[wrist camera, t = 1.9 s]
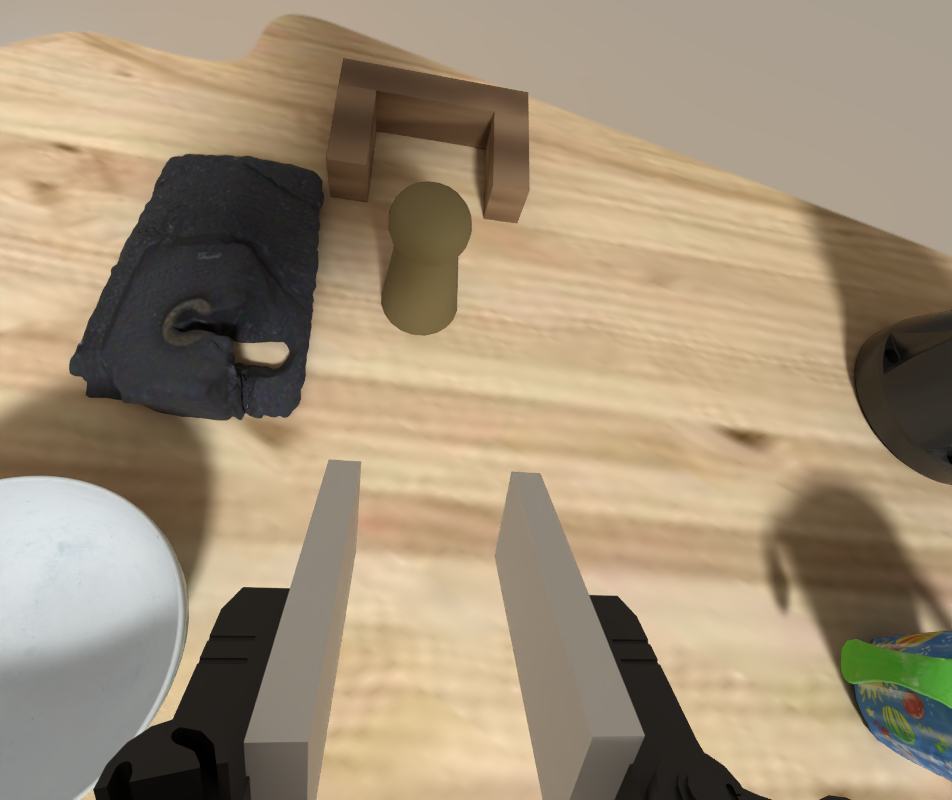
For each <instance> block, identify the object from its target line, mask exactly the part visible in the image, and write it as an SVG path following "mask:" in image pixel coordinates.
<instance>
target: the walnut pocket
mask: <svg viewBox="0 0 952 800" xmlns="http://www.w3.org/2000/svg"><path fill="white" fill-rule="evenodd" d="M376 131H381V132H387V133H393V134H399V135H405V136H411V137H417V138H423V139H429V140H435V141H441V142H447V143H453V144H459V145H465V146H471V147H477V148H483V149H486V153H485V192H484V219H491V220H498V221H505V222H512V223H517V222H518V220H519V217H520V214H521V212H522V209H523V206H524V204H525V201H526V198H527V196H528V193H529V120H528V92H523V91H517V90H512V89H507V88H501V87H496V86H490V85H485V84H480V83H474V82H469V81H463V80H458V79H453V78H447V77H442V76H436V75H431V74H426V73H420V72H415V71H409V70H404V69H399V68H393V67H388V66H382V65H377V64H372V63H366V62H361V61H355V60H350V59H345V58H343V63H342V69H341V74H340V80H339V86H338V92H337V98H336V104H335V110H334V116H333V121H332V127H331V133H330V139H329V145H328V151H327V157H326V162H327V170H328V178H329V186H330V194H331V197H338V198H345V199H352V200H359V201H366V202H367V201H368V193H369V186H370V178H371V170H372V162H373V154H374V147H375V139H376Z"/></svg>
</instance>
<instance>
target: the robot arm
mask: <svg viewBox="0 0 952 800" xmlns="http://www.w3.org/2000/svg"><path fill="white" fill-rule="evenodd" d="M855 381H856V388H857V393H858V397H859V400H860V403H861V406H862V408H863V411H864V413H865V415H866V417H867V419H868V421H869V423H870V424H871V426H872V428H873V429H874V431H875V432H876V434H877V435H878V437H879V438H880V439H881V440H882V442H883V443H884V444H885V445H886V446H887V447H888V449H889V450H890V451H891V452H892V453H893V454H894V455H895V456H897V457H898V458H899V459H900V460H901V461H902V462H904V463H905V464H906V465H907V466H909V467H910V468H912V469H913V470H915V471H916V472H918V473H920V474H922V475H924V476H926V477H928V478H930V479H932V480H935V481H938V482H941V483H945V484H950V485H952V310H950V311H945V312H939V313H934V314H929V315H924V316H918V317H913V318H909V319H906V320H903V321H900V322H898V323H895V324H893V325H891V326H889V327H887V328H886V329H884V330H882V331H880V332H878V333H876V334H874V335H873V336H871V337H870V338H869V339H868V340H867V341H866V342H865V344H864V345H863V347H862V348H861V350H860V352H859V355H858V358H857V362H856V369H855ZM360 473H361V462H358V461H342V460H329V461H328V464H327V467H326V471H325V474H324V477H323V481H322V484H321V487H320V491H319V494H318V497H317V501H316V504H315V507H314V511H313V514H312V517H311V521H310V524H309V527H308V531H307V534H306V537H305V541H304V544H303V547H302V551H301V554H300V557H299V561H298V564H297V567H296V570H295V574H294V577H293V580H292V584H291V587H290V588H253V587H243V588H242V589H241V590H240V591H239V592H238V593H237V594H236V595H235V596H234V597H233V598H232V599H231V600H230V601H229V602H228V603H227V604H226V605H225V606H224V607H223V608H222V609H221V611H220V613H219V616H218V618H217V620H216V623H215V625H214V627H213V629H212V632H211V634H210V638H209V641H207V643H206V645H205V647H204V650H203V652H202V654H201V656H200V661H199V664H197V666H196V668H195V670H194V672H193V675H192V677H191V679H190V681H189V684H188V686H187V688H186V690H185V693H184V695H183V697H182V700H181V702H180V704H179V706H178V709H177V711H176V713H175V715H174V718H173V720H170V721H167V722H164V723H161V724H157V725H154V726H151V727H150V728H148V729H147V730H145V731H144V732H142V733H141V734H139V735H137V736H136V737H134V738H133V739H131V740H130V741H128V742H127V743H126V744H125V745H124V746H123V747H122V748H121V749H120V750H119V751H118V752H117V754H116V755H115V756H114V757H113V758H112V759H111V760H110V761H109V762H108V763H107V764H106V766H105V768H104V770H103V772H102V774H101V776H100V778H99V779H98V781H97V783H96V785H95V787H94V789H93V790H94V794H95V797H96V800H316V797H317V791H318V785H319V779H320V772H321V766H322V760H323V754H324V747H325V741H326V735H327V728H328V722H329V716H330V710H331V703H332V697H333V691H334V685H335V678H336V672H337V666H338V660H339V653H340V647H341V641H342V635H343V628H344V622H345V616H346V609H347V603H348V597H349V591H350V584H351V578H352V572H353V566H354V559H355V553H356V541H357V524H358V507H359V490H360ZM495 560H496V565H497V570H498V575H499V580H500V586H501V591H502V596H503V601H504V606H505V611H506V616H507V621H508V626H509V631H510V636H511V641H512V646H513V651H514V656H515V661H516V667H517V672H518V677H519V682H520V687H521V692H522V697H523V702H524V707H525V712H526V717H527V722H528V727H529V732H530V737H531V743H532V748H533V753H534V758H535V763H536V768H537V773H538V778H539V783H540V788H541V793H542V798H543V800H771V799H768V798H765V797H762V796H759V795H757V794H755V793H752V792H750V791H748V790H746V789H743V788H742V786H741V784H740V783H739V782H738V781H737V780H736V779H735V778H734V776H733V775H732V774H731V773H730V772H729V771H728V770H727V768H726V767H725V766H723V765H722V764H720V763H719V762H718V761H716V760H715V759H713V758H712V757H711V756H709V755H708V754H705V753H704V752H703V750H702V748H701V747H700V745H699V743H698V741H697V740H696V738H695V736H694V733H693V731H692V729H691V727H690V725H689V723H688V721H687V719H686V717H685V715H684V713H683V711H682V709H681V707H680V705H679V703H678V701H677V698H676V696H675V694H674V692H673V690H672V688H671V686H670V684H669V682H668V680H667V678H666V676H665V674H664V672H663V670H662V668H661V666H660V665H659V664H658V663H657V660H658V659H657V657H656V655H655V653H654V651H653V649H652V647H651V645H650V644H648V639H647V637H646V635H645V633H644V631H643V628H642V626H641V624H640V622H639V620H638V618H637V616H636V615H635V614H634V613H633V612H632V611H631V610H630V609H629V608H628V607H627V606H626V604H625V603H624V602H623V601H622V600H621V599H620V598H619V597H618V596H601V595H589V594H588V592H587V589H586V587H585V584H584V581H583V579H582V576H581V574H580V571H579V569H578V566H577V564H576V561H575V559H574V556H573V554H572V551H571V549H570V546H569V544H568V541H567V539H566V536H565V534H564V531H563V529H562V526H561V524H560V521H559V519H558V516H557V514H556V511H555V509H554V506H553V504H552V501H551V499H550V496H549V494H548V491H547V489H546V486H545V484H544V481H543V479H542V476H541V474H540V473H525V472H511V477H510V482H509V487H508V492H507V497H506V502H505V507H504V512H503V517H502V522H501V527H500V532H499V536H498V541H497V546H496V551H495ZM820 800H850V799H848V798H845V797H837V796H830V795H829V796H826V797H824V798H822V799H820Z"/></svg>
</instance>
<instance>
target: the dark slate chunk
mask: <svg viewBox="0 0 952 800" xmlns="http://www.w3.org/2000/svg"><path fill="white" fill-rule="evenodd" d="M323 200H324V194H323V192H322V179H321V178H320V177H319V176H318V175H317V174H316V173H315V172H313V171H310V170H307V169H304V168H300V167H297V166H294V165H291V164H282V163H278V162H273V161H268V160H261V159H257V158H254V157H250V156H244V157H235V156H226V155H223V156H214V155H208V156H205V155H191V154H186V155H184V156H182V157H172V158H170V159H169V161H168V162H167V163H166V165H165V167H164V168H163V170H162V173H161V175H160V177H159V178H158V180H157V181H156V184H155V188H154V192H153V196H152V198H151V200H150V201H149V202H148V203H147V204H146V205H145V209H144V211H143V212H142V213H141V215H140V217H139V222H138V224H137V225H136V226H135V228H134V229H133V231H132V233H131V235H130V237H129V238H128V239H127V241H126V243H125V245H124V247H123V249H122V251H121V253H120V258H119V261H118V264H117V265H115V266H114V267H113V268H112V269H111V276H110V278H109V280H108V282H107V284H106V286H105V287H104V289H103V291H102V293H101V296H100V299H99V302H98V304H97V307H96V309H95V310H94V312H93V314H92V316H91V317H90V319H89V321H88V324H87V327H86V330H85V333H84V336H83V339H82V341H81V342H80V343H79V344H78V346H77V349H76V352H75V354H74V355H73V357H72V358H71V360H70V364H69V370H70V373H71V374H72V375H74V376H81V377H83V379H84V380H85V381H87V391H86V395H87V396H88V397H89V398H111V399H117V400H122V401H123V402H125V403H140V404H143V405H145V406H147V407H148V408H150V409H153V410H155V411H157V412H160V413H165V414H171V415H177V416H181V417H196V418H205V419H212V420H228V419H230V418H231V417H232V416H234V417H236V418H237V419H239V420H242V418H243V416H244V414H245V413H246V414H248V415H249V416H252V417H255V418H262V417H263V415H266V416H270V417H277V416H281V417H284V418H285V417H288V416H289V415H290V414H291V413H292V411H293V410H294V409H295V408H296V407H297V406H298V405H299V402H300V400H301V395H300V390H301V388H302V386H303V384H304V381H305V376H306V373H305V365H306V361H307V352H308V348H309V339H310V331H311V319H312V312H313V309H312V304H313V301H314V300H313V296H312V294H313V292H314V290H315V288H316V282H315V279H316V273H317V269H318V251H317V250H316V249H317V247H318V242H319V235H318V231H319V228H320V222H319V214H320V209H321V207H322V205H323ZM232 339H234V340H235V341H236V342H240V343H259V342H284V343H285V344H286V345H287V346H288V349H289V351H290V356H289V358H288V359H287V360H286V361H285V363H284V364H283V365H282V366H281V367H280V368H278V369H271V368H269V367H261V366H253V365H245V364H242V363H235V364H234V361H235V356H234V354H233V353H234V350H233V342H232ZM247 404H248V409H246V407H247ZM243 407H244V409H243Z"/></svg>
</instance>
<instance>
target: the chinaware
mask: <svg viewBox="0 0 952 800" xmlns="http://www.w3.org/2000/svg"><path fill="white" fill-rule="evenodd" d="M188 622H189V600H188V591H187V585H186V581H185V576H184V573H183V570H182V567H181V564H180V562H179V559H178V557H177V555H176V553H175V551H174V549H173V547H172V545H171V544H170V542H169V541H168V539H167V538H166V536H165V535H164V533H163V532H162V531H161V530H160V528H159V527H158V526H157V525H156V524H155V523H154V522H153V521H152V519H151V518H150V517H148V516H147V515H146V514H145V513H144V512H143V511H142V510H141V509H139V508H138V507H137V506H136V505H134V504H133V503H132V502H130V501H129V500H127V499H125V498H124V497H122V496H120V495H119V494H117V493H115V492H113V491H111V490H108V489H106V488H104V487H101V486H98V485H96V484H93V483H89V482H86V481H82V480H77V479H73V478H66V477H58V476H19V477H10V478H3V479H0V800H80V799H81V798H83V797H84V796H85V795H86V794H87V793H89V792H90V791H91V790H92V789H93V788H94V787H95V785H96V783H97V781H98V779H99V778H100V776H101V774H102V772H103V770H104V768H105V766H106V764H107V763H108V762H109V761H110V760H111V759H112V758H113V757H114V756H115V755H116V754H117V752H118V751H119V750H120V749H121V748H122V747H123V746H124V745H125V744H126V743H127V742H128V741H130V740H131V739H133V738H134V737H136V736H137V735H139V734H141V733H142V732H144V731H145V730H146V729H147V727H148V726H149V724H150V723H151V721H152V720H153V718H154V717H155V715H156V713H157V712H158V710H159V708H160V707H161V705H162V703H163V701H164V699H165V698H166V696H167V694H168V692H169V690H170V687H171V685H172V683H173V681H174V678H175V676H176V673H177V671H178V668H179V665H180V662H181V659H182V655H183V652H184V648H185V643H186V638H187V631H188Z"/></svg>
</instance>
